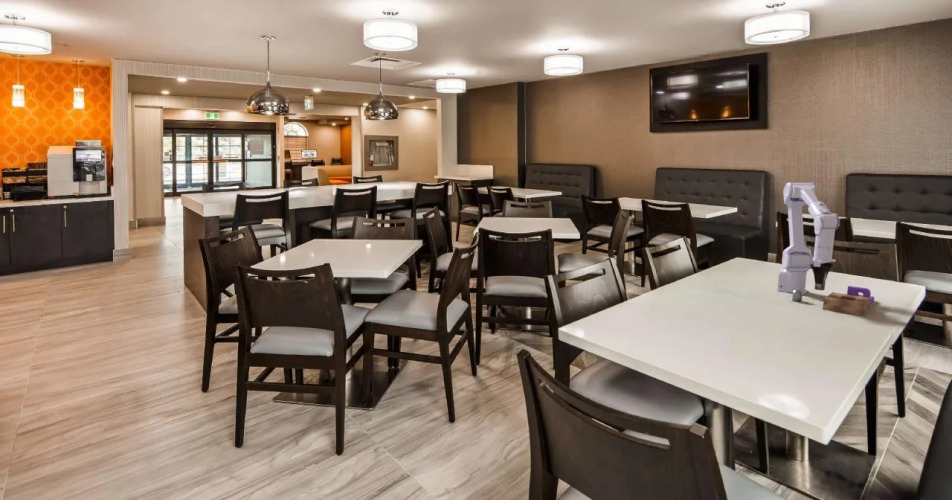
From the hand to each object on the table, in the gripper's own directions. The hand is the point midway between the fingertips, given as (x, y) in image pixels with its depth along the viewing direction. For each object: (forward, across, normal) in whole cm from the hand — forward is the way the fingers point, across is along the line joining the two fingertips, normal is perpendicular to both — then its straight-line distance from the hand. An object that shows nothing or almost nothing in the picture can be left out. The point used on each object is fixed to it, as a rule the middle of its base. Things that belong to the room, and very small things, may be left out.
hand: (820, 282), depth 204 cm
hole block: (+8, 0, -9) cm, 12 cm away
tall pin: (+2, 0, 0) cm, 2 cm away
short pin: (+8, 0, +7) cm, 11 cm away
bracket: (+9, +14, -11) cm, 19 cm away
